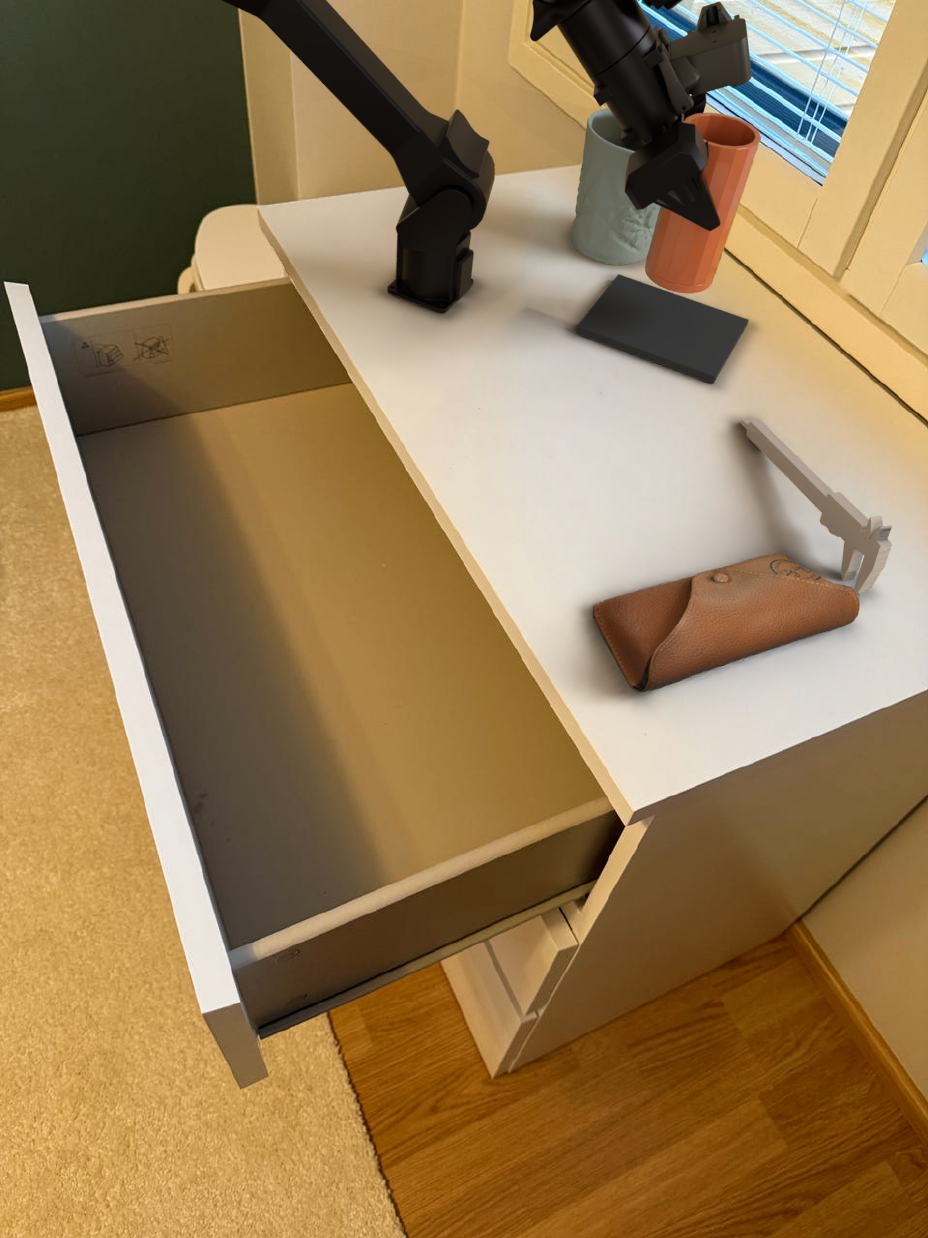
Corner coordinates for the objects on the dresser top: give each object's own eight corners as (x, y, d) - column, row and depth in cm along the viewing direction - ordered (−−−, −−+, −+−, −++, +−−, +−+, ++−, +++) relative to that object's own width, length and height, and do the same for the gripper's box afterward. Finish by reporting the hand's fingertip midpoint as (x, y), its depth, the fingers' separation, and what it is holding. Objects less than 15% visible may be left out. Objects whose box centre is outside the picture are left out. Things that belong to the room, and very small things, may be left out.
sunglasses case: (783, 545, 72) (840, 524, 66) (813, 631, 72) (873, 618, 65) (582, 606, 67) (623, 589, 60) (613, 700, 66) (658, 692, 60)
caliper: (866, 596, 70) (904, 539, 66) (853, 598, 70) (891, 541, 65) (749, 423, 82) (773, 363, 77) (738, 424, 82) (762, 365, 77)
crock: (665, 297, 83) (709, 151, 73) (632, 259, 87) (669, 115, 77) (725, 288, 85) (775, 144, 75) (690, 251, 89) (734, 109, 79)
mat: (575, 333, 89) (576, 325, 88) (616, 280, 95) (618, 273, 94) (713, 384, 85) (715, 376, 85) (746, 326, 92) (749, 319, 91)
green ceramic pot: (560, 217, 102) (581, 102, 93) (650, 221, 103) (678, 108, 94) (573, 267, 96) (595, 149, 87) (667, 272, 97) (700, 156, 88)
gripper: (715, 22, 62) (814, 207, 71) (709, -63, 74) (794, 105, 82) (577, 124, 68) (683, 283, 77) (592, 31, 80) (682, 178, 89)
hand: (714, 207), depth 81 cm, fingers closed on crock, 6 cm apart
